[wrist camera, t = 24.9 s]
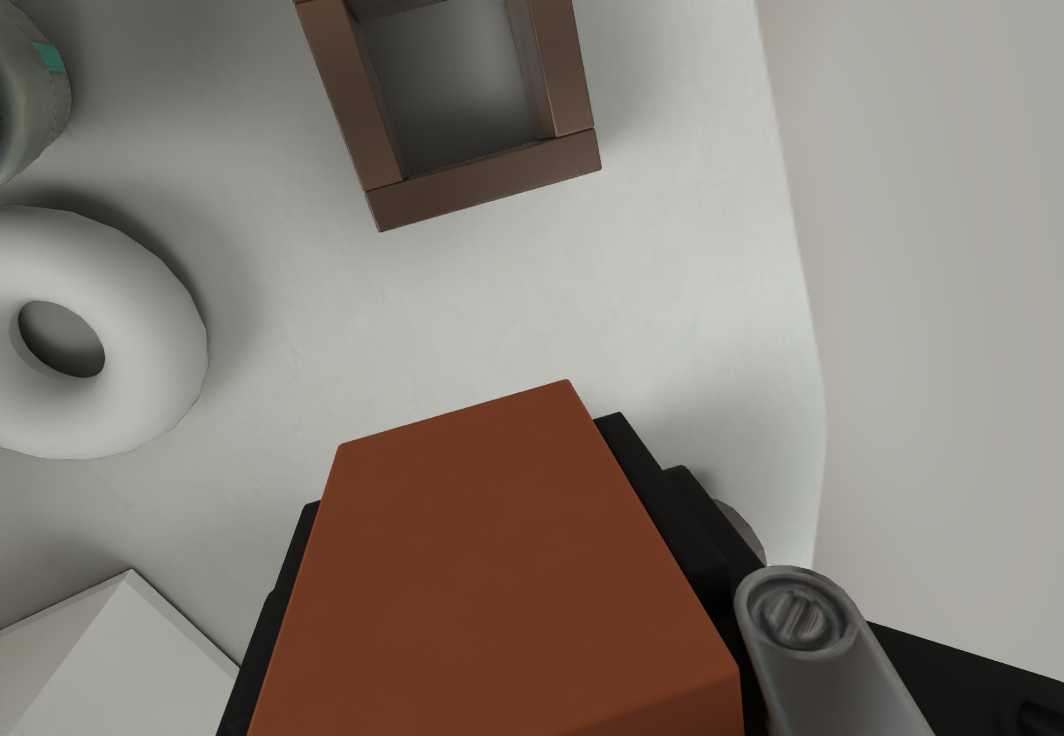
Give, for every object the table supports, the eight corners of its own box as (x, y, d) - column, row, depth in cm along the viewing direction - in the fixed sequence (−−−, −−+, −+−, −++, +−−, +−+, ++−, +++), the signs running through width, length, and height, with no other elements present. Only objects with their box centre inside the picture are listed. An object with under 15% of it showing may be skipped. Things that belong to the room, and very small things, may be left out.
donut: (246, 422, 24) (187, 197, 20) (217, 464, 21) (141, 207, 17) (0, 441, 22) (-116, 202, 18) (-70, 489, 19) (-229, 214, 15)
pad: (414, 608, 11) (396, 1043, 6) (337, 443, 9) (205, 852, 4) (606, 548, 11) (762, 907, 6) (568, 377, 10) (742, 669, 4)
